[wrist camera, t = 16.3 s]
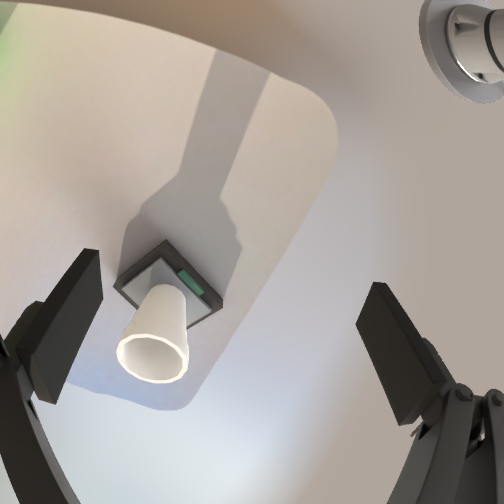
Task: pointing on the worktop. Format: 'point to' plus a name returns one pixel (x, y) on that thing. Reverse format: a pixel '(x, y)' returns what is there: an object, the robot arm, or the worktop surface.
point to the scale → (169, 282)
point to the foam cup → (157, 337)
